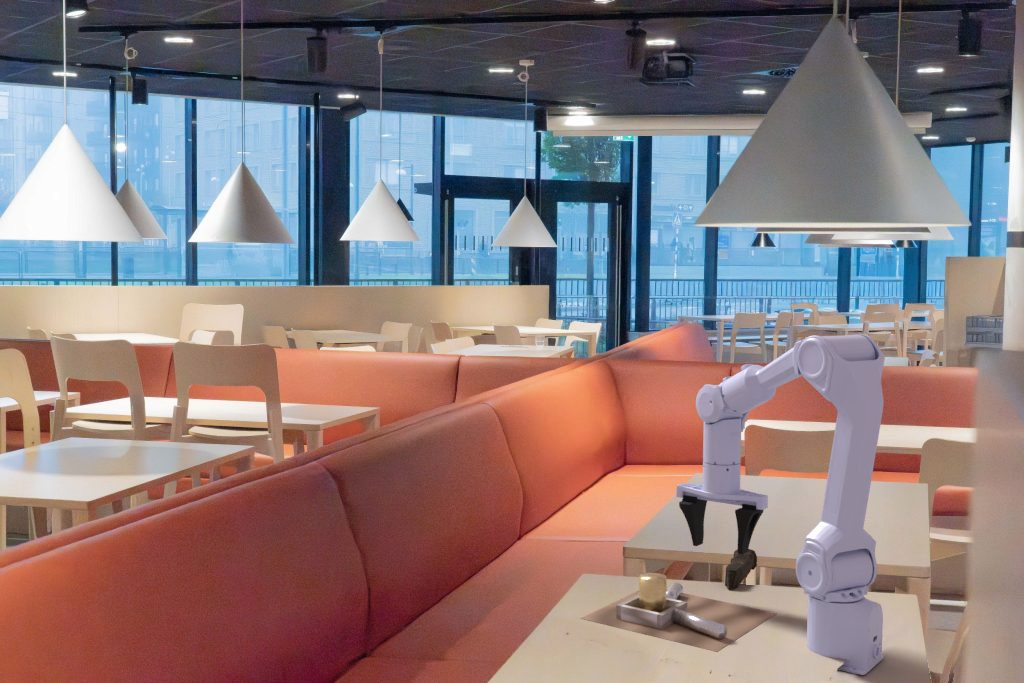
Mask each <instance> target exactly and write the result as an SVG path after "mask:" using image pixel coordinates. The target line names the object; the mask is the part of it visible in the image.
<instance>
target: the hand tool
mask: <svg viewBox="0 0 1024 683" xmlns="http://www.w3.org/2000/svg"><path fill="white" fill-rule="evenodd" d="M757 566H758V556H757V553H756V551H755V550H754V549H750V548H748V552H746V553H744V554H738V548H737V549H735V551H733V557H732V558H731V559H730V563H729V564H727V565H726V567H725V579H724V586H726V589H727V590H728V591H733V590H734V589H736V588H739V585H741V584H742V582H743V580H744V579H746V578H748V576H749V574H750V573H751V570H755V569H756V568H757Z"/></svg>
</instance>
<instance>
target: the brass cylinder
mask: <svg viewBox="0 0 1024 683" xmlns="http://www.w3.org/2000/svg"><path fill="white" fill-rule="evenodd" d="M638 579H639V580H638V583H639V584H638V591H639V608H640V609H645V610H649V611H654V612H658V613H661V612H663V611H665V610H666V591H667V590H668V589H667V585H668V583H667V582H668V581H667V580H668V578H667V575H665V574H663V573H659V572H645V573H641V574H640V575H638Z"/></svg>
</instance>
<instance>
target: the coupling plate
mask: <svg viewBox="0 0 1024 683" xmlns="http://www.w3.org/2000/svg"><path fill="white" fill-rule="evenodd" d="M674 609H679V610H682V611H685V612H688V613H691V614H693V615H696V616H699V617H702V618H705V619H708V620H711V621H713V622H716V623H719V624H722V625H725V626H726V627H727V635H726V637H725V638H724V639H722V640H720V639H718V638H715V637H712V636H709V635H707V634H704V633H701V632H699V631H696V630H693V629H690V628H688V627H685V626H682V625H679V624H677V623H674V622H672V619H671V616H672V612H673V610H674ZM777 614H778V612H776V611H775V612H774V611H769V610H764V609H759V608H757V607H756V608H755V607H750V606H746V605H741V604H736V603H731V602H727V601H721V600H719V599H718V600H717V599H713V598H708V597H703V596H698V595H694V594H688V593H684V592H682V594H681V595H680V596H679V597H678V599H677V600H675V599H670V598H666V610H665V611H663V612H661V613H658V612H654V611H649V610H645V609H640V608H639V590H637V591H635V592H633V593H631V594H628V595H626V596H624V597H622V598H620V599H618V600H616V601H614V602H612V603H610V604H608V605H605V606H603V607H601V608H599V609H597V610H595V611H592V612H590V613H589V614H587V615H584V616H582V617H580V619H581V620H584V621H588V622H593V623H596V624H602V625H604V626H609V627H613V628H616V629H617V628H618V629H621V630H626V631H629V632H634V633H637V634H638V633H639V634H643V635H646V636H650V637H655V638H659V639H662V640H666V641H670V642H675V643H679V644H683V645H688V646H691V647H695V648H700V649H704V650H707V651H712V652H716V653H718V652H719V651H721V650H722V649H724V648H726V647H727V646H728V645H731V644H732V643H734V642H735V641H736V640H738V639H740V638H741V637H743V636H744V635H746V634H747V633H749V632H751V631H752V630H754V629H756V628H757V627H758V626H760V625H762V624H763V623H764V622H766V621H768V620H769V619H771V618H773V617H775V616H776V615H777Z"/></svg>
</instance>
